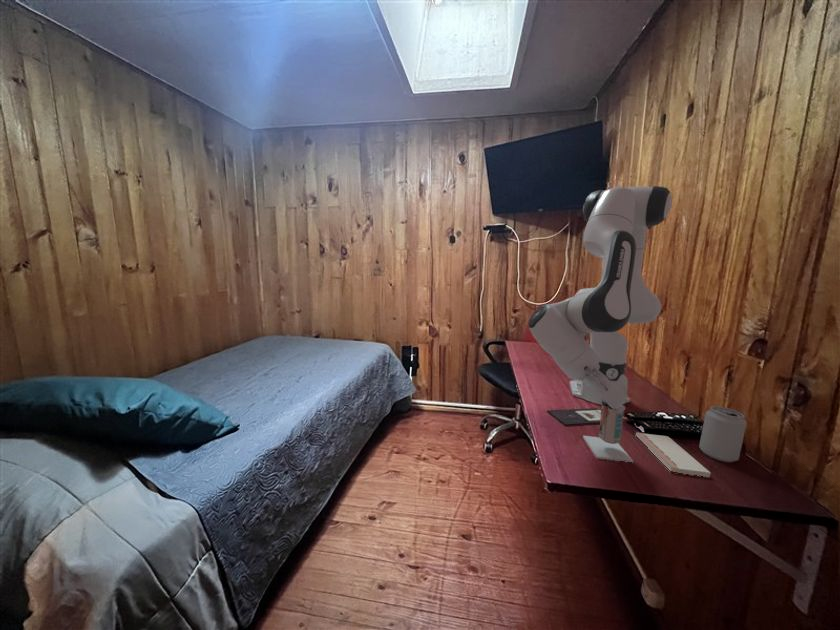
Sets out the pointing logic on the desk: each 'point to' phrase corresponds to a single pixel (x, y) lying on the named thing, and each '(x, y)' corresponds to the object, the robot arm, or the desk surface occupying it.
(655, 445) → the board
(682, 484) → the desk surface
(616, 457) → the mat
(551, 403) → the desk surface
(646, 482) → the desk surface
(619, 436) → the jar with lid
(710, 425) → the can
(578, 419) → the chocolate bar
